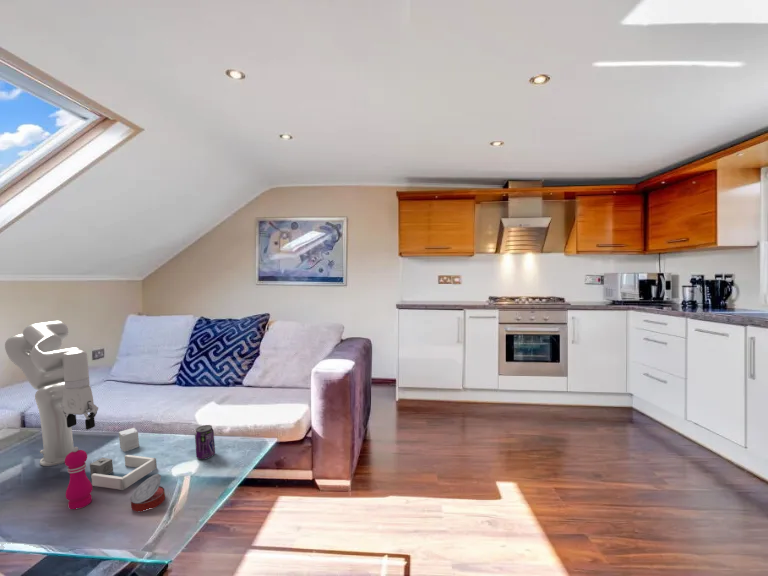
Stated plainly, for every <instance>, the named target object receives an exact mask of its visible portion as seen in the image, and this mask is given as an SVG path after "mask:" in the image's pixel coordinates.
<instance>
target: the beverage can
mask: <svg viewBox="0 0 768 576" xmlns="http://www.w3.org/2000/svg"><path fill="white" fill-rule="evenodd" d="M214 432H215V431H214V429H213V426H212V425H211V424H205V425H201V426H198V427H196V428H195V433H194V439H195V440H194V441H195V442H194V443H195V457H196V458H197V459H200V460H206V459H205V458H207V459H209V458H208V457H210V458H211V457H213V456H214V455H215V454H216V444H215V433H214ZM212 455H213V456H212Z"/></svg>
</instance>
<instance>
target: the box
mask: <svg viewBox="0 0 768 576" xmlns="http://www.w3.org/2000/svg"><path fill="white" fill-rule="evenodd" d="M124 465H125V467H130V468H131V467H132V468H135V469H133V470H131V471H130V472H128V473H127V474H125V475H124V476H117V475H111V474H110V475H109V474H108V475H103V474H96V473H94V474H92V475H91V474H90V477H91V484H92V487H93V486H94V487H100V488H107V489H112V490H120V491H124V490H126V489H127V488H128V487H130V486H132V485H134V483H136V482H138V481H139V480H141V479H142V478H144V477H145V476H147V475H149V474H150V473H151V472H153V471H155V470H157V468H158V467H157V465H158V464H157V458H156V457H149V456H140V455H131V454H126V455H124Z"/></svg>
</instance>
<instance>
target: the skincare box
mask: <svg viewBox="0 0 768 576" xmlns="http://www.w3.org/2000/svg"><path fill="white" fill-rule="evenodd" d="M118 439H119V448H120V449H121V451H122V452H123V451H124V452H123V453H125V452H128V451H131V450H135V449H137V448H139V447H140V440H139V439H140V438H139V432H138V430H137V428H135V427H132V428H128V429H124V430H121V431H118Z"/></svg>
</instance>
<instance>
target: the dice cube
mask: <svg viewBox="0 0 768 576" xmlns="http://www.w3.org/2000/svg"><path fill="white" fill-rule="evenodd" d="M113 464H114V463H113V459H112V458H106V457H101V458H99V459H96V460H95V461H93V462H91V463H89V470H90V476H91V475H92V474H94V473H96V474H103V475H109V474H111V473H113V472H114V466H113Z"/></svg>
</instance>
